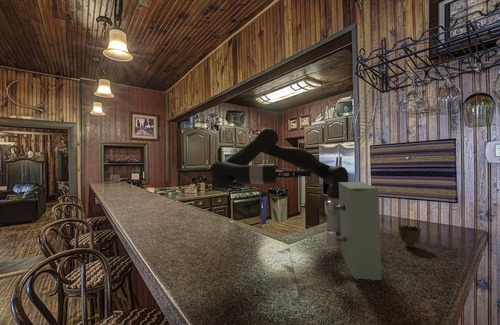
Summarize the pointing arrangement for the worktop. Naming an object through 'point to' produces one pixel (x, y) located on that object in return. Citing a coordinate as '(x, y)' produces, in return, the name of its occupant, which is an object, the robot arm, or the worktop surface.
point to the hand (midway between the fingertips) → (310, 173)
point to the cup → (409, 235)
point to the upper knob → (332, 208)
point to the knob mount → (360, 229)
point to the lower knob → (333, 238)
